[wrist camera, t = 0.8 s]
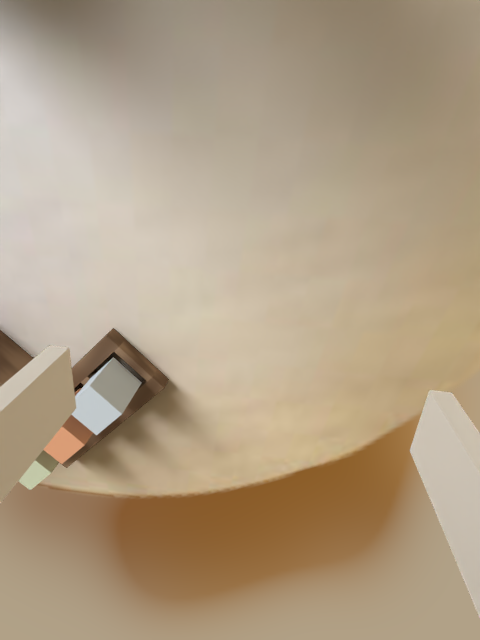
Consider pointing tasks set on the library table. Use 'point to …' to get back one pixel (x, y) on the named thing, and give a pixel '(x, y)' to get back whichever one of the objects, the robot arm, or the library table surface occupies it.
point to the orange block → (68, 439)
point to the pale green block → (38, 470)
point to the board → (135, 360)
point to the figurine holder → (11, 358)
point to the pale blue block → (105, 396)
